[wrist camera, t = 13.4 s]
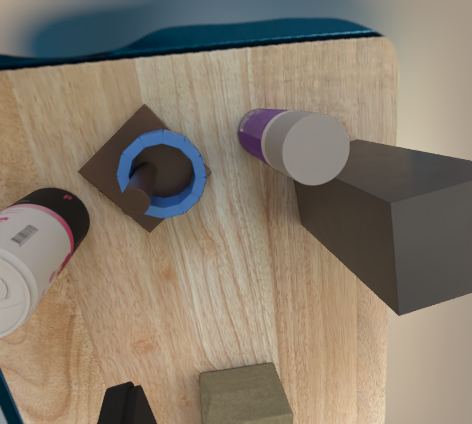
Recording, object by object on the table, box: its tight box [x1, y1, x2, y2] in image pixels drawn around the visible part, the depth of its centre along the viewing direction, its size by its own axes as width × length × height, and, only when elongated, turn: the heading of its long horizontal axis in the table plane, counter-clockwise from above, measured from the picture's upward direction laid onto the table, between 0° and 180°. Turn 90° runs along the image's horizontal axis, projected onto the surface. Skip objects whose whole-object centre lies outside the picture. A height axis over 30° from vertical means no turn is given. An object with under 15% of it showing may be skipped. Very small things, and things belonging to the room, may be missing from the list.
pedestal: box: [294, 140, 472, 316], centre depth 30 cm, size 8×8×18 cm
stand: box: [78, 104, 212, 233], centre depth 28 cm, size 9×9×12 cm
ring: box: [117, 129, 207, 218], centre depth 32 cm, size 8×8×4 cm
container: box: [238, 109, 350, 185], centre depth 28 cm, size 5×5×15 cm
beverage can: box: [0, 188, 90, 338], centre depth 27 cm, size 7×7×15 cm
